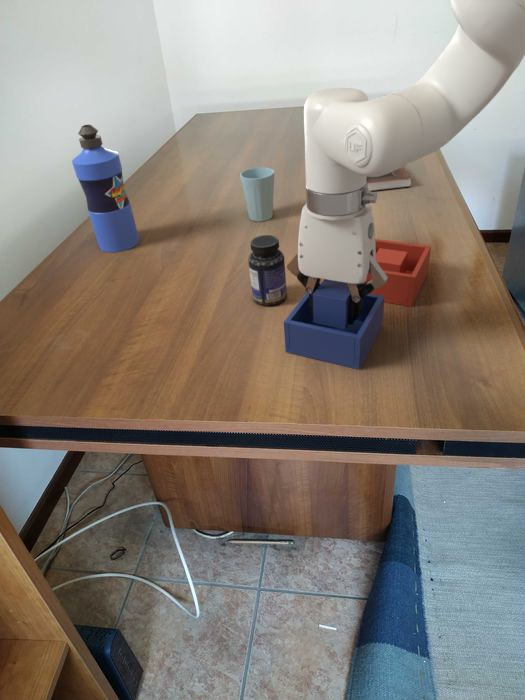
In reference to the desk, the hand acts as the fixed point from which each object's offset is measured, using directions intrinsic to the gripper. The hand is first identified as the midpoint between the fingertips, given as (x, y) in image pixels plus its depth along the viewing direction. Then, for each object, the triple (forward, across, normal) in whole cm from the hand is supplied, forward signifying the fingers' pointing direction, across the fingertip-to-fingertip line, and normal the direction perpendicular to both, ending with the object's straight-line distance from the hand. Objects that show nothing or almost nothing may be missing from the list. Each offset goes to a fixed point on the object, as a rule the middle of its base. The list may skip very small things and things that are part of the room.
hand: (335, 315), depth 75 cm
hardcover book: (+5, +18, -68) cm, 70 cm away
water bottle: (+5, +58, -18) cm, 61 cm away
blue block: (0, 0, 0) cm, 0 cm away
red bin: (+4, -3, -18) cm, 19 cm away
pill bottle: (+5, +15, -8) cm, 17 cm away
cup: (+5, +33, -40) cm, 52 cm away
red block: (+4, -3, -18) cm, 19 cm away
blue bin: (+4, 0, 0) cm, 4 cm away
